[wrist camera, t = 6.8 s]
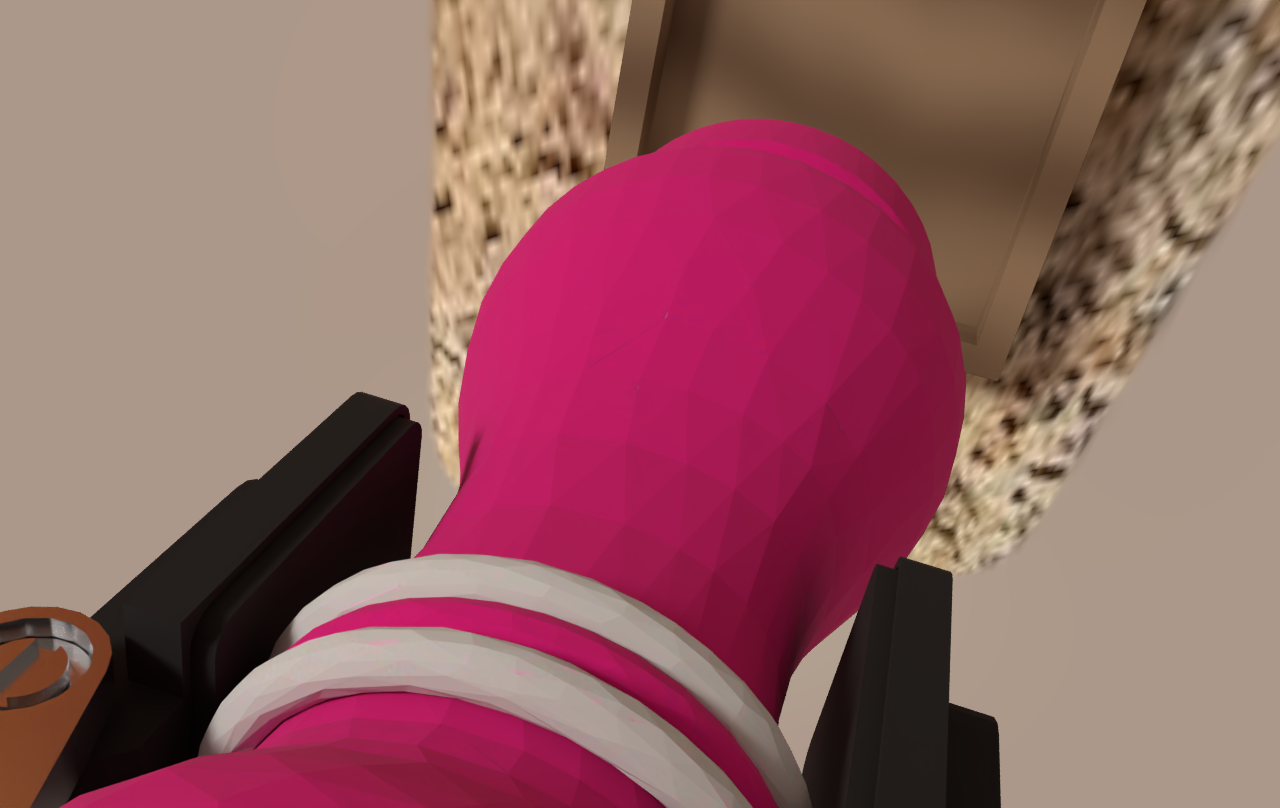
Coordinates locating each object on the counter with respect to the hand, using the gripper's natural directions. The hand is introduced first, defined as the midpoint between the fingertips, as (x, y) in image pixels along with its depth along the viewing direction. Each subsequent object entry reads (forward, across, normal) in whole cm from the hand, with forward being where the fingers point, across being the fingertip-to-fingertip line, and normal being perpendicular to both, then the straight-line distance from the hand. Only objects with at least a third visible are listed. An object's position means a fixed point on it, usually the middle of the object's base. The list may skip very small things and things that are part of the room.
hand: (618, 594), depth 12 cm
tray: (+27, 0, 0) cm, 27 cm away
